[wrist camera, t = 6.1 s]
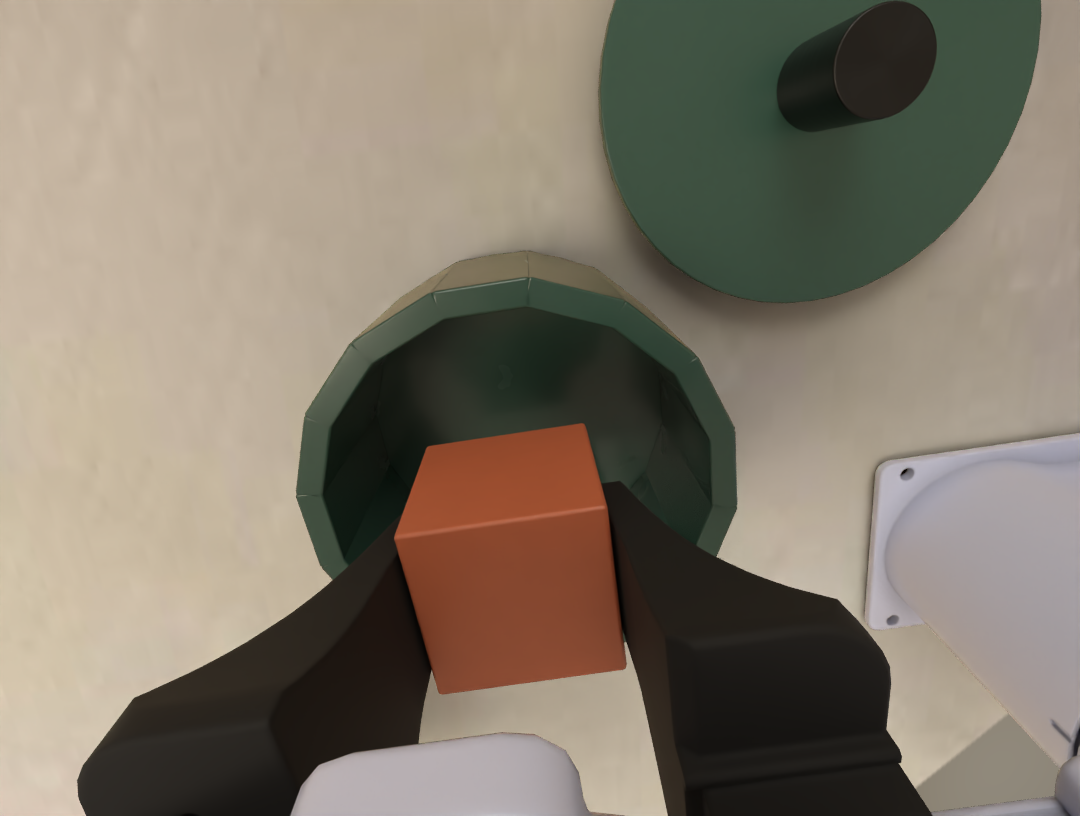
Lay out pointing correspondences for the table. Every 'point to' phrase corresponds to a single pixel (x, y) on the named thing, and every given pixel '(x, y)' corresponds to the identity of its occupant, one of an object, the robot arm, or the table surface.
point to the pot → (514, 398)
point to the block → (512, 561)
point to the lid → (807, 130)
